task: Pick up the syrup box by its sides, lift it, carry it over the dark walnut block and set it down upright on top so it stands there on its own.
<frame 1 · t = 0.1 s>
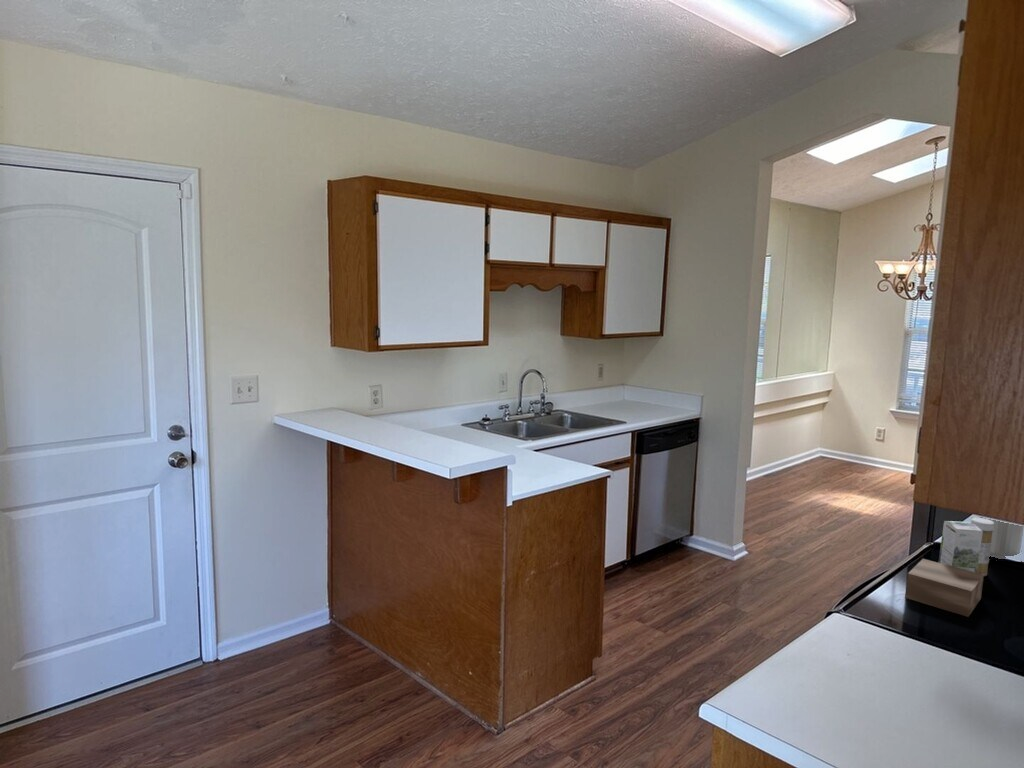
hand: (972, 468, 143), 31 cm above the countertop, tool pointing down, fingers open, 9 cm apart
walnut block: (942, 599, 152), on the countertop
syrup box: (955, 584, 160), on the countertop
sprinkles bottle: (975, 573, 166), on the countertop
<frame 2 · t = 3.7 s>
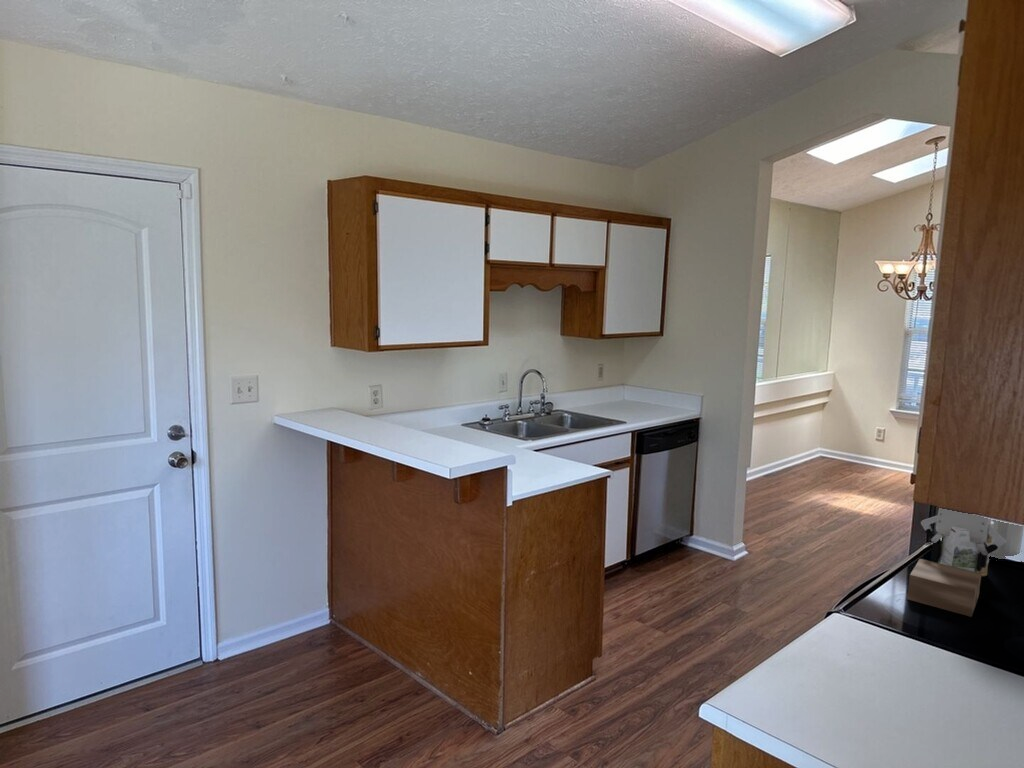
hand: (957, 563, 159), 5 cm above the countertop, tool pointing down, fingers closed on syrup box, 8 cm apart
syrup box: (955, 584, 160), on the countertop, touching gripper
everything else where it was.
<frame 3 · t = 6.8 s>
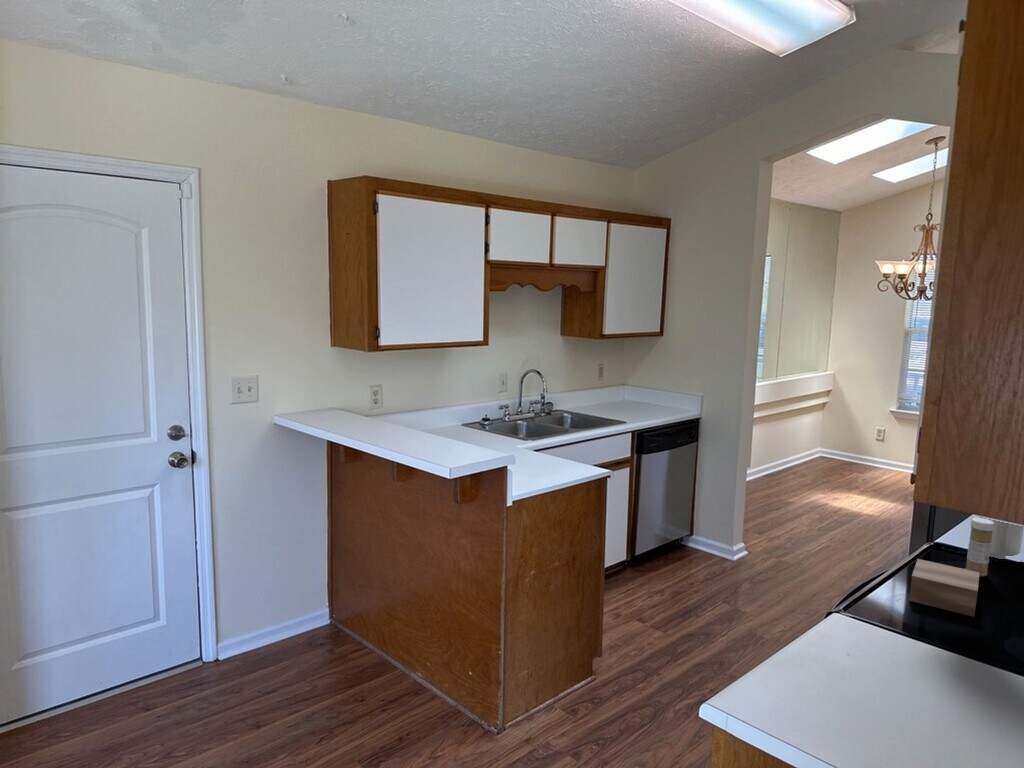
hand: (961, 479, 151), 27 cm above the countertop, tool pointing down, fingers closed on syrup box, 8 cm apart
syrup box: (958, 502, 151), point 21 cm above the countertop, touching gripper
everything else where it was.
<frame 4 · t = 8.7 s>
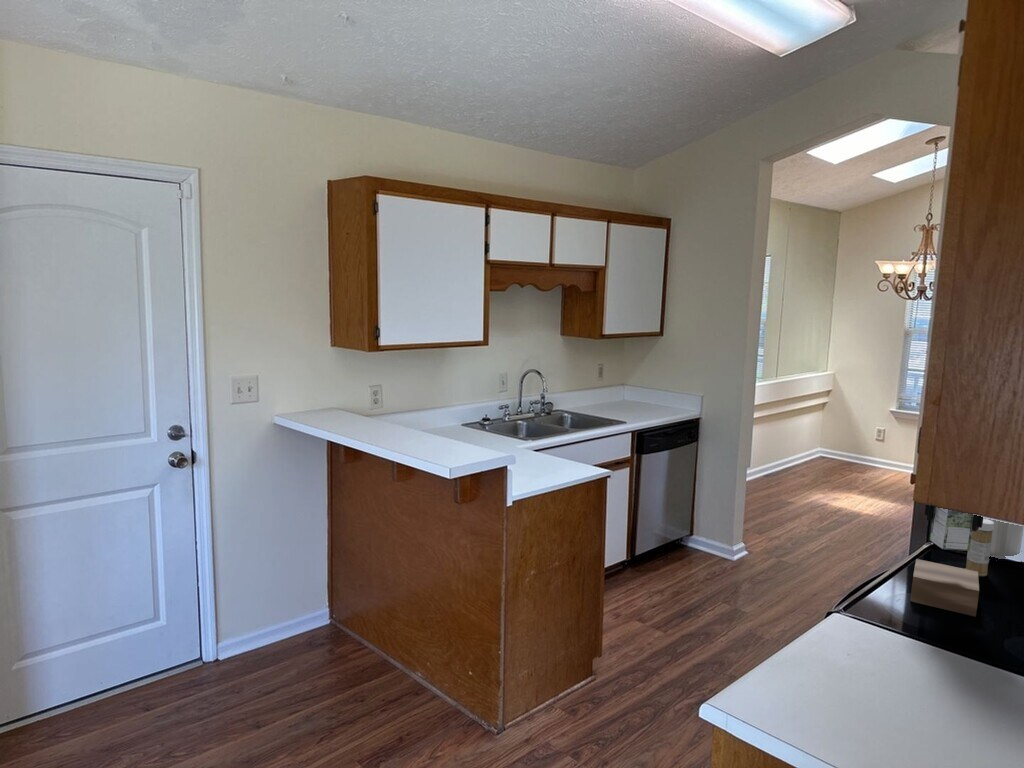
hand: (952, 524, 149), 17 cm above the countertop, tool pointing down, fingers closed on syrup box, 8 cm apart
syrup box: (949, 546, 150), point 12 cm above the countertop, touching gripper
everything else where it was.
when the fingers open (12 cm above the countertop, at t = 10.3 s): syrup box drops 2 cm, point 6 cm above the countertop.
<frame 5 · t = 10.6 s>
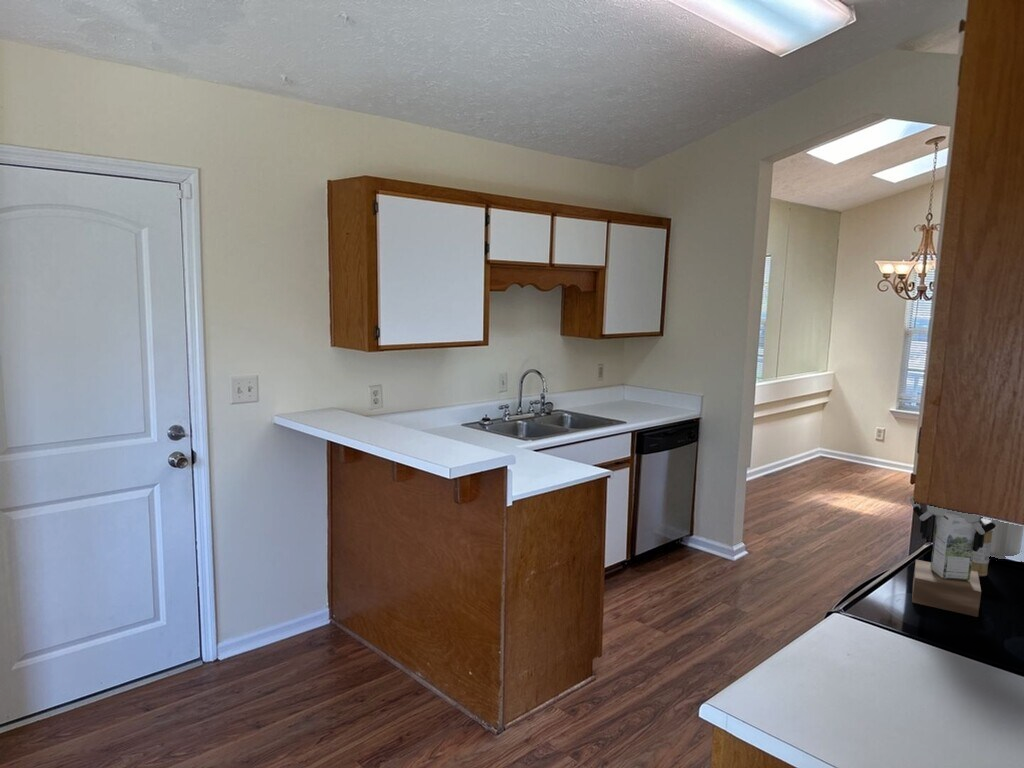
hand: (950, 543, 150), 13 cm above the countertop, tool pointing down, fingers open, 9 cm apart
syrup box: (949, 575, 151), point 6 cm above the countertop, touching gripper
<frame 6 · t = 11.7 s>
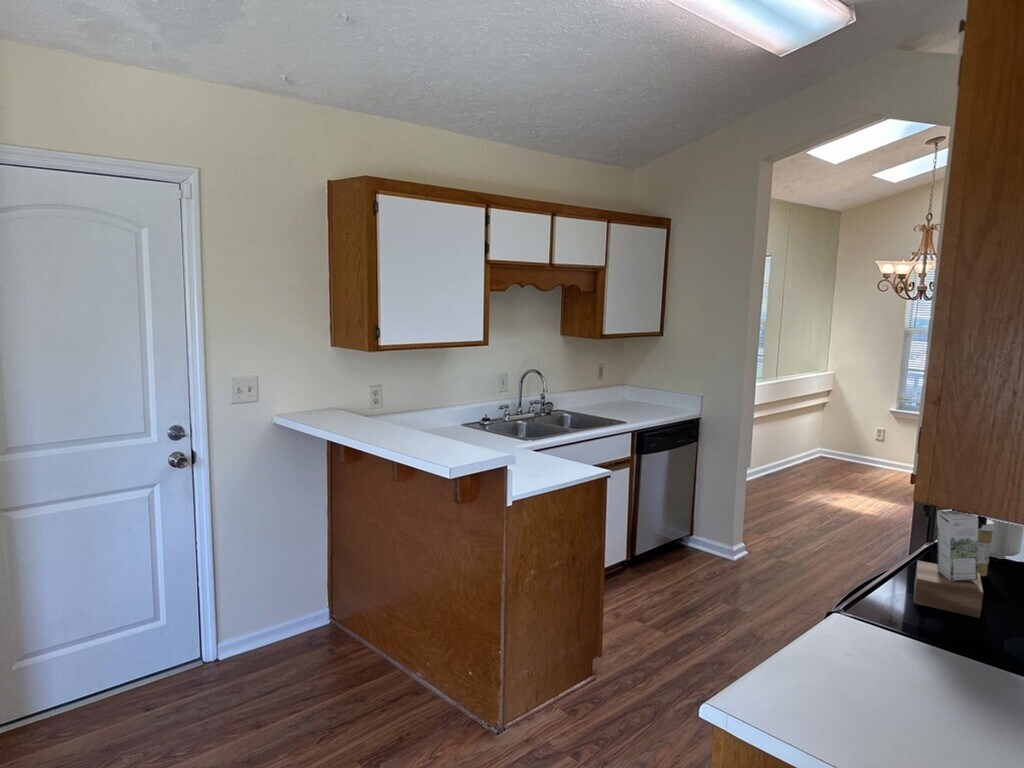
hand: (953, 521, 150), 18 cm above the countertop, tool pointing down, fingers open, 9 cm apart
walnut block: (945, 601, 151), on the countertop, touching syrup box
syrup box: (957, 576, 149), point 6 cm above the countertop, touching gripper, walnut block
everything else where it was.
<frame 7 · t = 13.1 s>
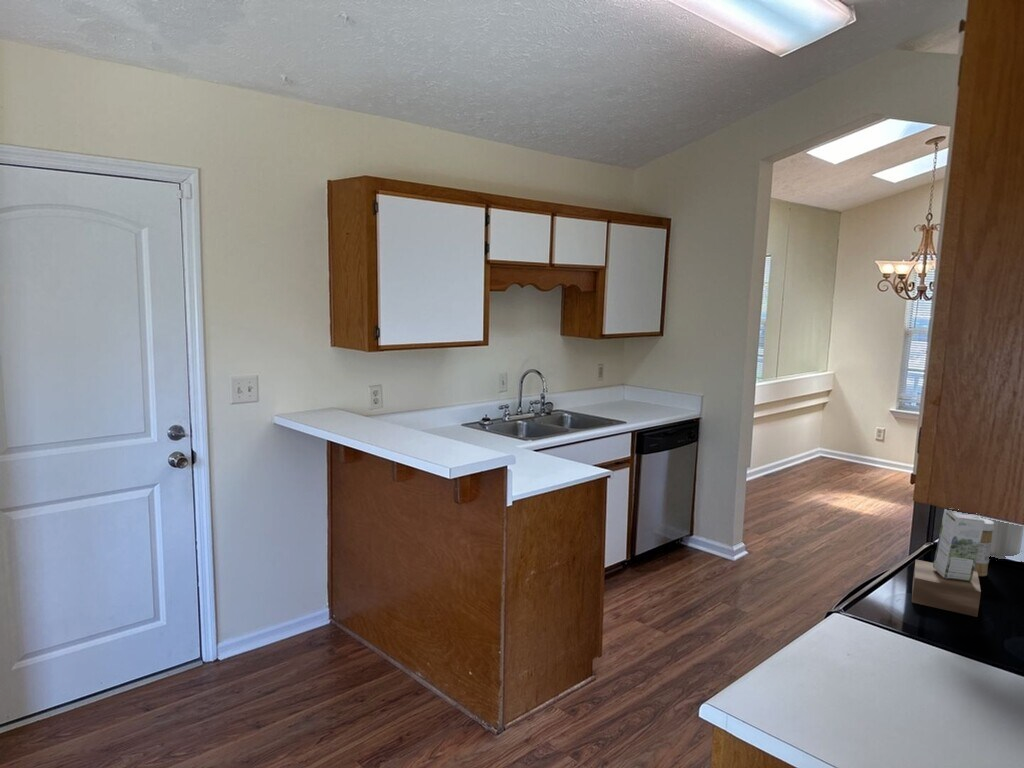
hand: (972, 454, 153), 31 cm above the countertop, tool pointing down, fingers open, 9 cm apart
walnut block: (943, 600, 152), on the countertop
syrup box: (951, 575, 150), point 6 cm above the countertop
everything else where it was.
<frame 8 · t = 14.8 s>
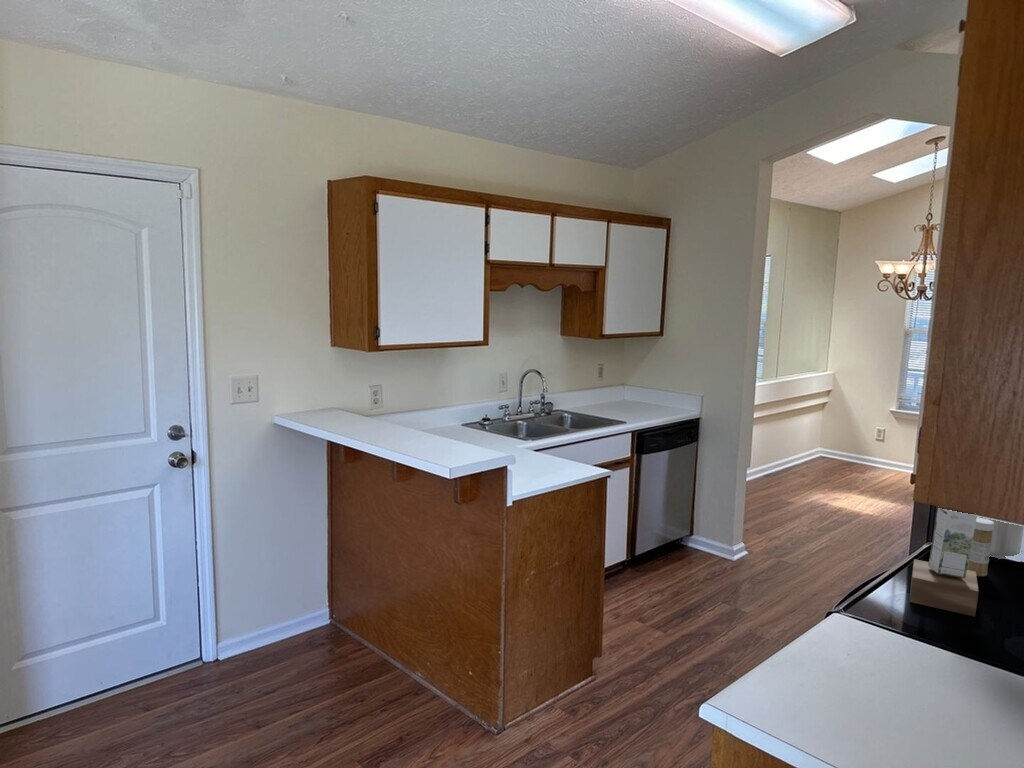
hand: (986, 429, 158), 36 cm above the countertop, tool pointing down, fingers open, 9 cm apart
walnut block: (941, 599, 152), on the countertop, touching syrup box
syrup box: (946, 573, 151), point 6 cm above the countertop, touching walnut block
everything else where it was.
at the end: syrup box 0.3 cm off-centre on the walnut block, point 6.2 cm above the walnut block's base; syrup box tilted 6°; the gripper is holding nothing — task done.
